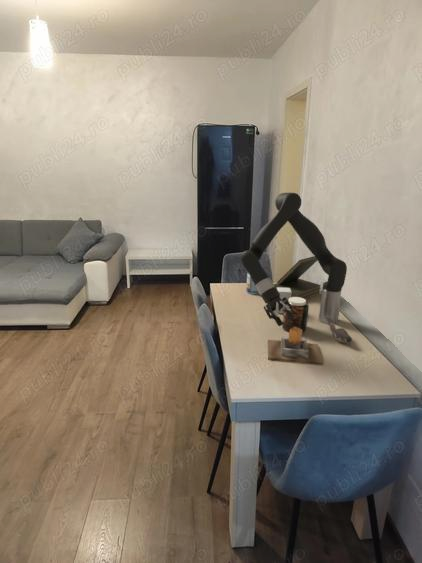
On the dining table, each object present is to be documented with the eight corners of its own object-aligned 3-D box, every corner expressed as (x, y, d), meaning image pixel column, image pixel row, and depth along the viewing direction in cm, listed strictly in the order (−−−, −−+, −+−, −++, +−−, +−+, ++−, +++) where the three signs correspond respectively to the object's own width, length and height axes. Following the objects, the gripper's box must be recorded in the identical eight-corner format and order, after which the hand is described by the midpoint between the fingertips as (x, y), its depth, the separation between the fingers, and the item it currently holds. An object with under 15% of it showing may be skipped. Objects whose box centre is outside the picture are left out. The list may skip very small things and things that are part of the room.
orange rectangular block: (286, 349, 158) (288, 328, 155) (291, 346, 160) (293, 326, 157) (296, 354, 154) (298, 332, 151) (301, 351, 157) (303, 330, 154)
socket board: (317, 346, 164) (318, 338, 163) (322, 364, 149) (323, 356, 148) (267, 341, 167) (268, 333, 165) (268, 359, 152) (268, 350, 150)
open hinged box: (294, 286, 243) (297, 249, 235) (319, 294, 229) (324, 255, 221) (271, 293, 229) (275, 254, 221) (297, 302, 215) (302, 261, 207)
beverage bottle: (255, 295, 223) (257, 264, 217) (243, 292, 228) (245, 261, 222) (262, 292, 230) (264, 261, 223) (250, 289, 234) (252, 258, 228)
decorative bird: (342, 349, 161) (344, 339, 160) (318, 325, 185) (319, 316, 183) (355, 348, 162) (357, 338, 161) (330, 324, 186) (331, 315, 184)
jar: (306, 334, 174) (310, 305, 170) (281, 332, 177) (284, 303, 172) (305, 324, 185) (309, 296, 181) (282, 322, 188) (285, 294, 183)
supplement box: (288, 308, 205) (290, 287, 201) (289, 314, 198) (291, 292, 194) (274, 308, 205) (276, 286, 201) (275, 313, 198) (277, 291, 194)
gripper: (262, 289, 154) (283, 323, 150) (282, 282, 163) (302, 314, 159) (252, 298, 159) (271, 331, 155) (272, 291, 169) (290, 321, 164)
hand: (287, 322), depth 157 cm, fingers open, 8 cm apart
